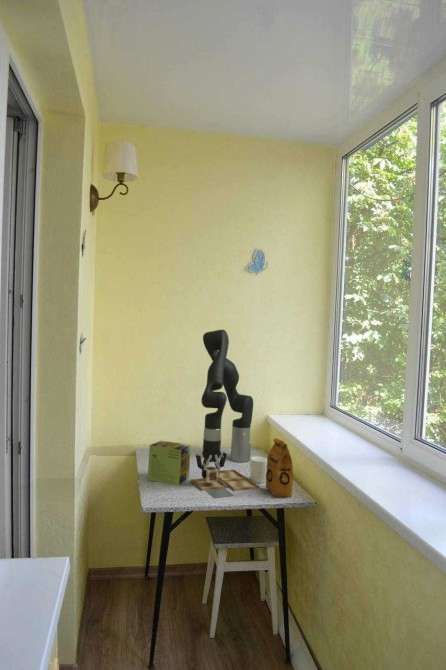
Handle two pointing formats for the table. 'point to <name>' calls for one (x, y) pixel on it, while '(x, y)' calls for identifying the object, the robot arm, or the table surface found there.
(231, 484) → the tray
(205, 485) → the tray
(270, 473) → the coffee package
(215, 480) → the letter cube
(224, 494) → the slate tile
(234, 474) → the tray
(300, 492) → the table surface
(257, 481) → the white cup
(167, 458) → the protein box
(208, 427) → the robot arm
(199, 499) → the table surface
